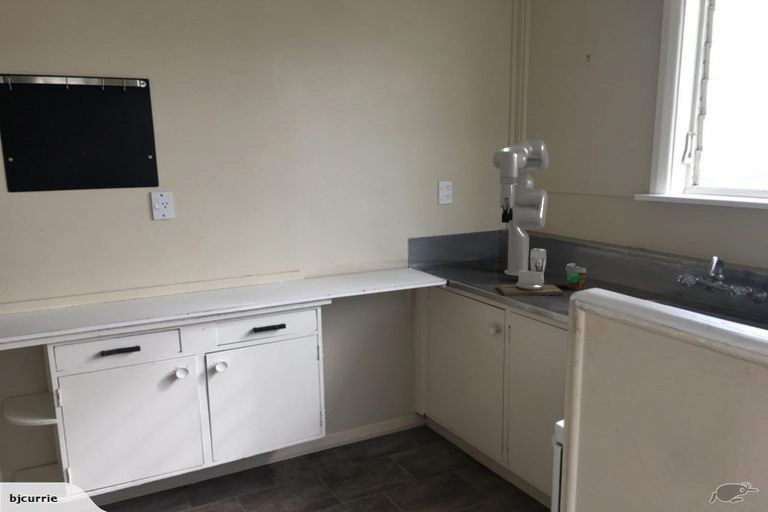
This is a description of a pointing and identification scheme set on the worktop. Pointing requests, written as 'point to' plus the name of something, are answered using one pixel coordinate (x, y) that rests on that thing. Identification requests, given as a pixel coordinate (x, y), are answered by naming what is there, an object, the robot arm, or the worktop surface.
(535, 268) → the beer glass
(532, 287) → the dial
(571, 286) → the food container
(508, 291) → the dial board
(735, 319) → the worktop surface
